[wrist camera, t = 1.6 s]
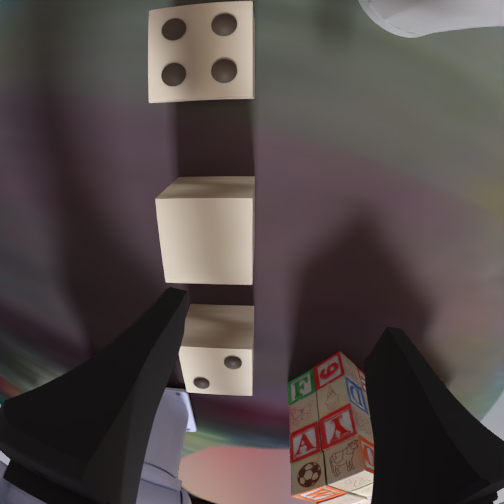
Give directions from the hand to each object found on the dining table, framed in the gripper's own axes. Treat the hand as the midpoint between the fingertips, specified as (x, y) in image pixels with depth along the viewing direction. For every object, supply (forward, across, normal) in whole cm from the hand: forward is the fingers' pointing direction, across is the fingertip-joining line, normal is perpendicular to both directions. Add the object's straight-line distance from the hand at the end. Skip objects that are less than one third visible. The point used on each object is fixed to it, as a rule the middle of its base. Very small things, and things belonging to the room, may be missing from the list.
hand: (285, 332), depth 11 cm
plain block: (+12, +4, +2) cm, 12 cm away
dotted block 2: (+11, +2, +11) cm, 16 cm away
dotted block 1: (+12, +6, -8) cm, 16 cm away
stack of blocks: (+10, -15, +21) cm, 28 cm away
